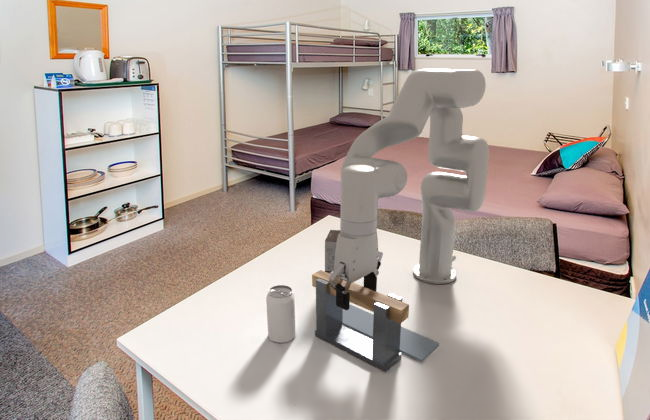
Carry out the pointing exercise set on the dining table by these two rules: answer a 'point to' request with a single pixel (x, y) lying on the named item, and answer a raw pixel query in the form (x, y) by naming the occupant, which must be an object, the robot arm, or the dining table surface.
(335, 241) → the coffee box
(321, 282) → the rail rack
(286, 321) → the can
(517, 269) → the dining table surface
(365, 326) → the mat
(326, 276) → the rail
